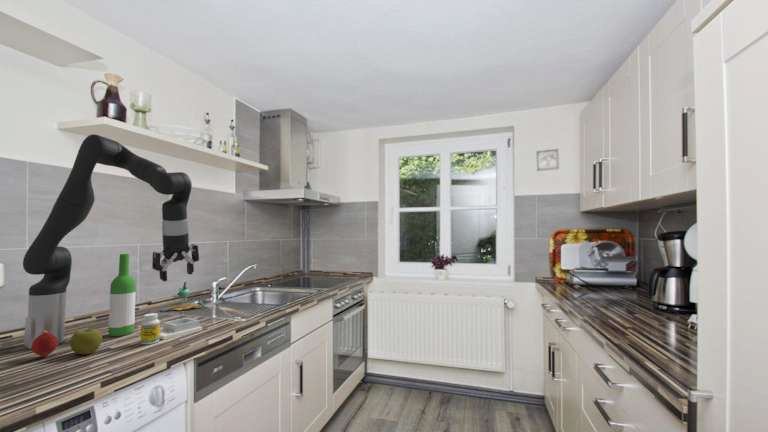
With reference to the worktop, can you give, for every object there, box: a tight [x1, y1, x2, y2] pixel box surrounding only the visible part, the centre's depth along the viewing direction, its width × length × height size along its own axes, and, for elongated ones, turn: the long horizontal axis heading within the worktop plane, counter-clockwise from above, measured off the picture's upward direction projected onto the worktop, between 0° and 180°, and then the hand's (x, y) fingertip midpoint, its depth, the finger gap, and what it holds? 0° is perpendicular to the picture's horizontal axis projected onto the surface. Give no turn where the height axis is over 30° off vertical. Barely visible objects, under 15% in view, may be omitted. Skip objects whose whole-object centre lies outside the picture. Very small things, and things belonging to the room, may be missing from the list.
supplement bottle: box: [140, 312, 161, 346], centre depth 119 cm, size 5×5×10 cm
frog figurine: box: [167, 281, 206, 311], centre depth 171 cm, size 10×18×15 cm, turn 96°
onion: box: [30, 331, 59, 358], centre depth 105 cm, size 6×6×8 cm
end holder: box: [159, 317, 203, 341], centre depth 130 cm, size 15×12×4 cm
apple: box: [69, 328, 103, 355], centre depth 108 cm, size 8×8×7 cm
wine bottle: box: [108, 253, 137, 337], centre depth 129 cm, size 8×8×30 cm
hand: (177, 277), depth 118 cm, fingers open, 8 cm apart
